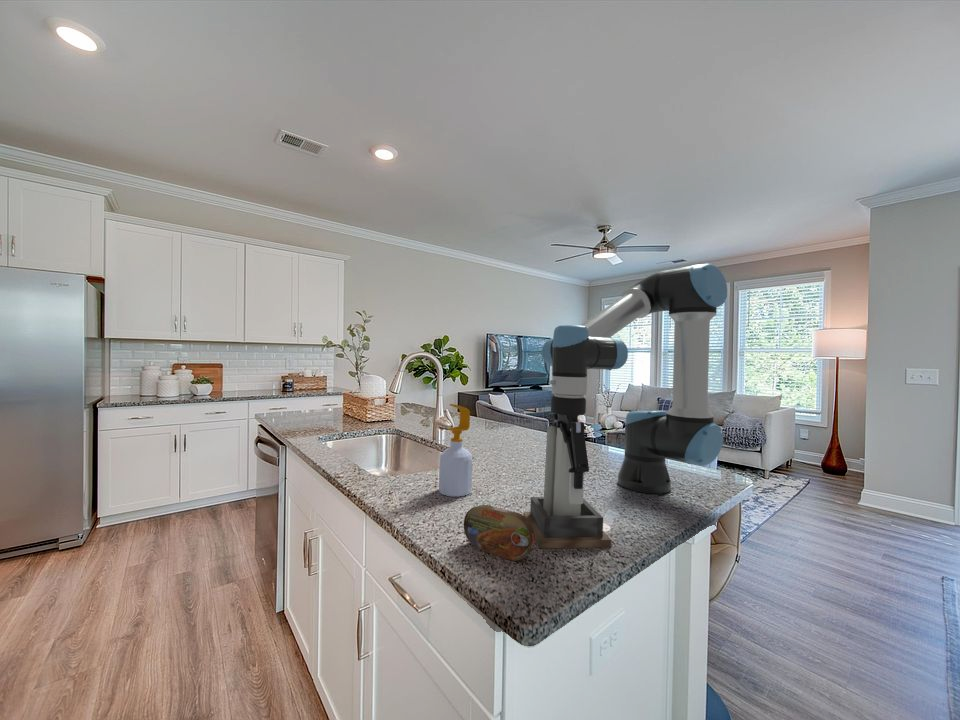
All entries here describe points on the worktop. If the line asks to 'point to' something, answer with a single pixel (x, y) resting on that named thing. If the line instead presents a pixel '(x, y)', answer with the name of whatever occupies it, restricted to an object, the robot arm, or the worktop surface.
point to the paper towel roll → (558, 477)
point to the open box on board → (567, 527)
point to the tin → (499, 532)
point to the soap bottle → (456, 461)
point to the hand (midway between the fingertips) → (565, 492)
